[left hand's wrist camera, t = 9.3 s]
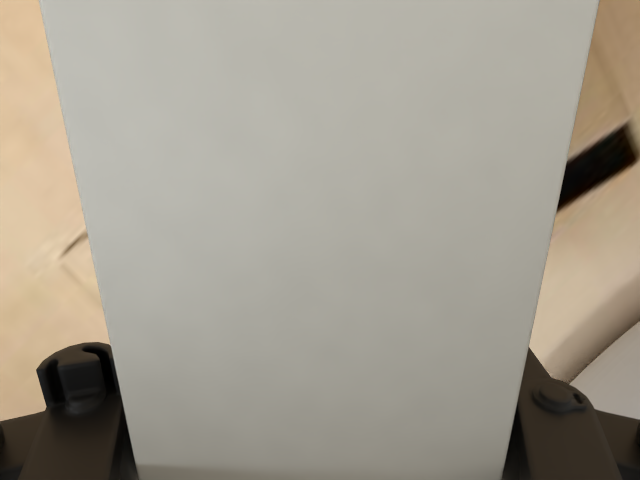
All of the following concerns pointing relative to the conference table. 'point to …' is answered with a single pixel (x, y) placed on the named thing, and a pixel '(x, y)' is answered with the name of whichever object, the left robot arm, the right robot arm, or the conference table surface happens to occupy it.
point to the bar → (319, 222)
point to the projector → (615, 377)
